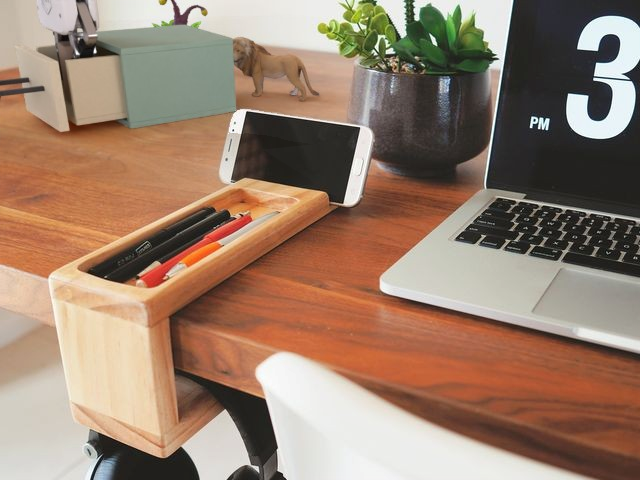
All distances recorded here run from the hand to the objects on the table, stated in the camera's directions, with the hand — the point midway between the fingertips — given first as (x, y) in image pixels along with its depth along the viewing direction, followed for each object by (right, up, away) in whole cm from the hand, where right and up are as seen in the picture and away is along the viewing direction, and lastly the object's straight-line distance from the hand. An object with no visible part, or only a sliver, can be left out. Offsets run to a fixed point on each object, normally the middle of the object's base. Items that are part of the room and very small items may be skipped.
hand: (80, 82), depth 99 cm
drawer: (-1, -4, +1) cm, 5 cm away
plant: (+1, +18, +48) cm, 51 cm away
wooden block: (0, -3, +1) cm, 3 cm away
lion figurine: (+24, +2, +18) cm, 30 cm away
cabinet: (+9, -2, +9) cm, 13 cm away
